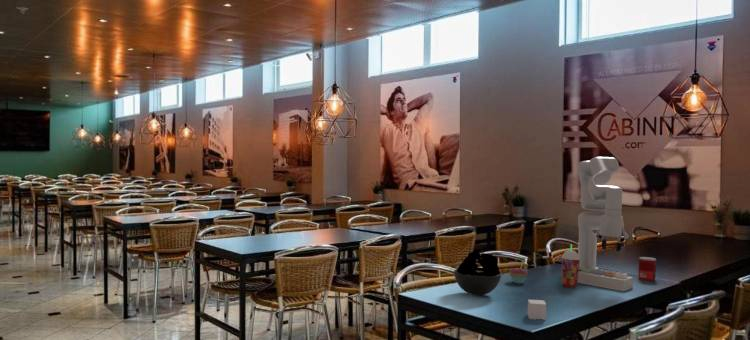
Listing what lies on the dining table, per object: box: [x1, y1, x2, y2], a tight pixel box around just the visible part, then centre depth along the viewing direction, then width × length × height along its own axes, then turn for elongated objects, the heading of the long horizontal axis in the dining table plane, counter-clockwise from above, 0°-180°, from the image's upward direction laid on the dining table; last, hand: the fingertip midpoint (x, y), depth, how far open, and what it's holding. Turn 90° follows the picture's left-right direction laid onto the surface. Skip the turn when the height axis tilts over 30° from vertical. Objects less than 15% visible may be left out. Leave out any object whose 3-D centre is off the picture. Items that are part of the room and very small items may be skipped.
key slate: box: [593, 268, 606, 275], centre depth 286 cm, size 4×4×4 cm
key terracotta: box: [604, 270, 617, 277], centre depth 283 cm, size 4×4×4 cm
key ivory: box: [615, 271, 628, 279], centre depth 279 cm, size 4×4×4 cm
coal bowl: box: [453, 249, 502, 297], centre depth 254 cm, size 20×20×19 cm
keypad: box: [577, 270, 634, 292], centre depth 284 cm, size 23×11×5 cm, turn 46°
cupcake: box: [509, 259, 528, 284], centre depth 283 cm, size 9×8×12 cm
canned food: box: [637, 256, 657, 282], centre depth 302 cm, size 8×8×11 cm
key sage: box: [582, 267, 594, 273], centre depth 290 cm, size 4×4×4 cm
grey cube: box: [526, 299, 547, 321], centre depth 222 cm, size 6×6×6 cm
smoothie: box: [561, 244, 580, 289], centre depth 279 cm, size 8×8×20 cm
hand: (611, 249), depth 282 cm, fingers open, 6 cm apart
